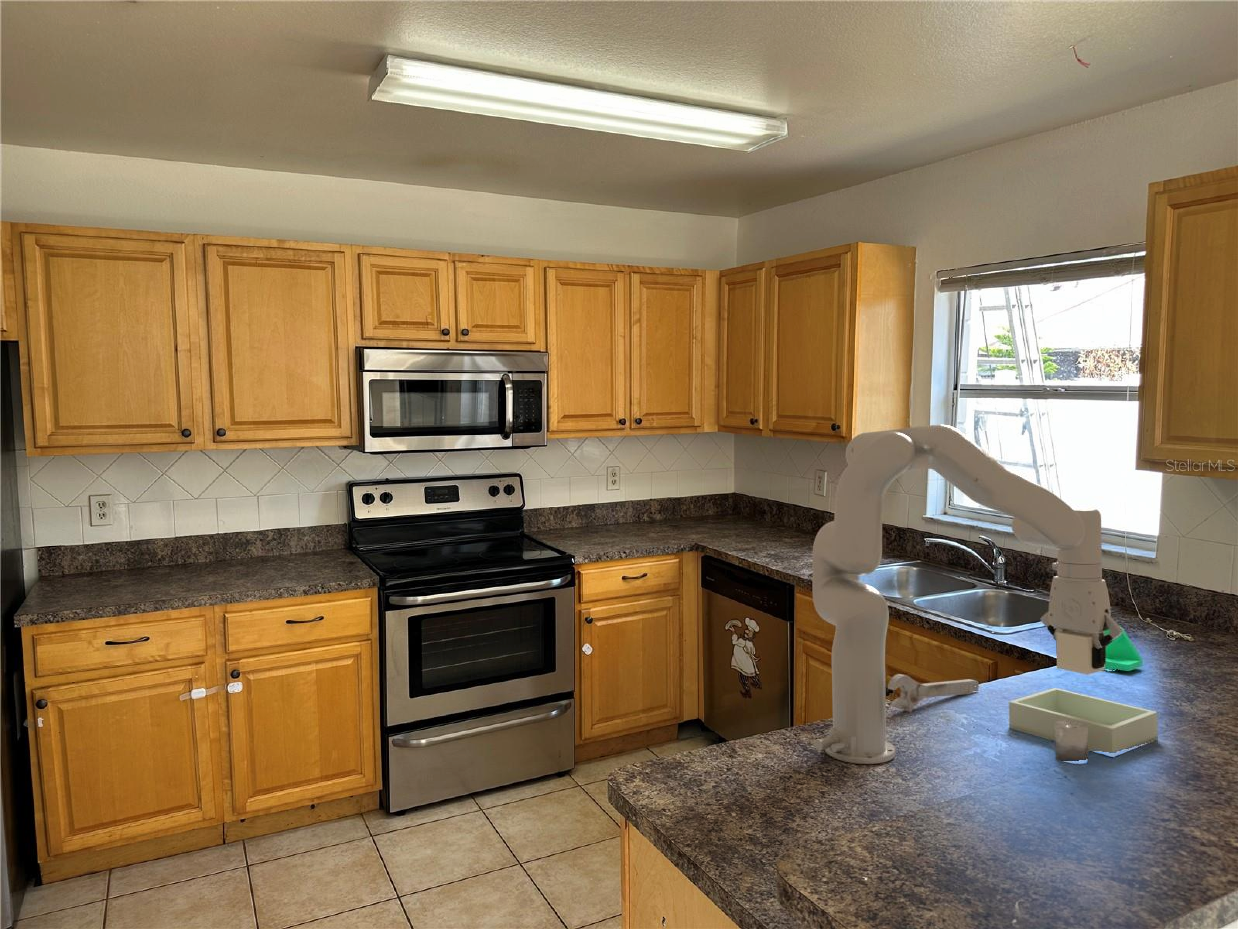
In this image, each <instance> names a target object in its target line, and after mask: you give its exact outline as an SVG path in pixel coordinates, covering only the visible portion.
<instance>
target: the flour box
mask: <svg viewBox="0 0 1238 929" xmlns="http://www.w3.org/2000/svg"><path fill="white" fill-rule="evenodd" d="M1056 633H1057V654H1056V669H1061V670H1065V671H1069V672H1075V673H1079V674H1082V675H1087V676H1088V675H1092V674H1096V673H1098V672H1102V671H1104V670H1105V664H1104V667H1101V668H1098V669H1094V668H1093V667H1092V648H1093V647H1095V645H1094V643H1093V640H1092V637H1091V635H1090V633H1083V632H1077V631H1071V630H1064V631H1060V632H1056Z"/></svg>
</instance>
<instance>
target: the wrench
mask: <svg viewBox="0 0 1238 929" xmlns="http://www.w3.org/2000/svg"><path fill="white" fill-rule="evenodd" d="M975 686H976V687H975ZM899 688H900V695H899V696H898V697H897V698H895V699H894V700H893V701H891V704H892V706H893V707H895V708H896V709H900V710H904V711H906V712H909V713H912V711H913V710H914V707H915V706H917V704H919V702H920V701H922V700H924V699H927V698H934V697H936V698H938V697H949V696H961V695H962V696H963V695H971V693H973V694H975V693H974V692H973V691H977V692H979V689H980V686H979V682H978V681H977V680H975V679H969V678H968V679H957V680H946V681H939V682H938V681H937V682H928V683H920V682H918V681H916V680H914V679H912V677H910V676H909V675H906V674H901V673H897V674H895V675H893V676H892V677H891V678H890V680H889V682H888V684H887V689H888V690H892V691H896V690H897V689H899Z"/></svg>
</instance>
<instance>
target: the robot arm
mask: <svg viewBox="0 0 1238 929" xmlns="http://www.w3.org/2000/svg"><path fill="white" fill-rule="evenodd" d="M845 460H846V463H847V466H846V467H845V469H844V470H843V472H842V474H841V476H840V478H839V481H838V483H837V487H836V492H835V501H834V517H833V518H834V519H833V520H832V521H829V522H827V523H825V524H824V525H823V526H822V527H821V528H820V529H819V530H818V532H817V534H816V536H815V538H814V541H813V546H812V580H811V581H812V601H813V605H814V608H815V611H816V613H817V614H818V616H819V617H820V618H821V619H823V620H824V621H826V622H827V623H829V624H830V625H832V626H835V632H834V635H833V636H834V637H833V641H832V647H831V682H832V684H831V687H832V688H831V690H832V693H831V694H832V696H831V697H832V698H831V699H832V728H830V729H829V730H828V733H829V734H828V735H827V736H826V737H823V738H820V739H816V740H815V742H814V746H815V749H816V750H817V751H819V752H821V751H824V750H825V753H826V754H827V755H828V756H830V757H832V758H833V759H836V760H839V761H842V762H846V763H851V764H860V765H873V764H874V765H876V764H882V763H886V762H889V761H891V760H893V759H894V758H895V756H896V748H895V746H894V745H893V744H892V743H891V742H889V741H887V708H886V707H887V703H886V700H887V699H886V698H887V696H886V695H887V694H886V692H887V691H886V641H887V640H886V638H887V632H888V628H889V627H888V625H889V619H890V616H889V615H890V614H889V612H890V610H889V606H888V603H887V601H886V599H885V597H884V596H883V594H882V593H881V592H880V591H879V590H878V589H877V588H875V587H873V586H872V585H870V584H867V583H865V582H862V581H860V576H866V575H870V574H872V573H873V572H875V571H876V570H877V569H879V566H880V564H881V562H882V557H883V506H884V501H885V500H884V499H885V496H886V493H887V491H888V489H889V488H890V486H891V485H892V483H893V482H894V481H895V480H896V479H897V478H898V477H899V476H901V475H902V474H904V473H905V472H906V471H907V472H908V471H913V470H917V469H918V470H919V469H920V470H921V469H927V470H932V471H935V472H936V473H938V475H940V476H941V477H942V478H943V479H944V480H946V481H948V483H950V485H952V486H954V487H955V488H956V489H958V490H959V491H960V492H961V493H963V494H964V495H965V496H966V497H968V498H969V499H970V500H972V501H973V502H975V503H977V504H979V505H981V506H982V507H985V508H988V509H991V510H994V511H997V512H1000V513H1003V514H1006V515H1009V516H1011V517H1013V518H1012V521H1011V530H1012V533H1013V535H1014V537H1015V538H1017V540H1019V541H1020V542H1021V543H1024V544H1027V545H1030V546H1034V547H1040V548H1047V549H1051V550H1052V549H1053V550H1056V552H1057V560H1056V562H1052V563H1051V569H1052V570H1055V571H1056V574H1057V575H1056V576H1054V575H1053V578H1052V582H1051V586H1050V592H1049V600H1048V611H1047V612H1045V613H1044V614H1043V615H1042V616H1041V617H1040V622H1042V624H1043V625H1044V626H1045V628H1047V631H1048V632H1049V633H1050V634H1051V636H1052V637H1053V640H1054V641H1055V643H1056V644H1055V646H1056V648H1055V651H1056V652H1055V654H1056V655H1057V633H1056V632H1060V631H1064V630H1071V631H1077V632H1083V633H1090V635H1091V637H1092V640H1093V643H1094V645H1095V647H1093V648H1092V667H1093V668H1094V669H1098V668H1101V667H1104V664H1105V663H1106V646H1108V645H1109V644H1110V643H1111V642H1112V641H1114V640H1115V638H1117V637H1118V636H1120V635H1121V634H1122V633H1123V630H1122V629H1121V628H1120V627H1121V625H1119V624H1118V623H1117V622H1116V620H1115V619H1113V617H1112V616H1111V615H1112V614H1111V611H1112V610H1111V604H1110V603H1111V601H1110V595H1109V591H1108V586H1107V583H1106V580H1105V579H1103V568H1102V567H1103V566H1102V565H1103V564H1102V561H1103V560H1102V558H1103V556H1102V548H1103V547H1102V542H1103V541H1102V515H1101V512H1100V511H1099V510H1098V509H1097V508H1093V507H1088V506H1087V507H1086V506H1084V507H1083V506H1070V505H1068V504H1067V503H1066V502H1065V501H1064V500H1063V499H1061V498H1060V497H1059V496H1057V495H1056V494H1054V493H1053V492H1052V491H1050V490H1048V489H1046V488H1045V487H1043V486H1041V485H1039V484H1038V483H1036V482H1034V481H1031V479H1028V478H1026V477H1024V476H1023V475H1021V474H1020V473H1018V472H1015V471H1013V470H1011V469H1009V468H1008V467H1006V466H1004V465H1003V464H1001V463H1000V462H999V461H998V460H997V459H995V458H994V457H993V456H992V455H990V454H989V453H988V452H987V451H985V450H984V449H982V447H981V446H979V445H978V444H977V443H975V442H974V441H973V440H972V439H970V438H969V437H968V436H966V435H965V434H964V433H963V432H961V431H960V430H959V429H958V428H955V427H953V426H950V425H947V424H933V425H930V424H929V425H917V426H912V427H906V428H897V429H890V430H881V431H879V430H878V431H868V432H863V433H860V434H858V435H856V436H854V437H853V438H852V439H850V441H849V443H848V444H847V447H846V449H845ZM1109 629H1110V633H1109V634H1107V635H1105V633H1104V631H1107V630H1109Z"/></svg>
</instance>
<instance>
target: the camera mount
mask: <svg viewBox="0 0 1238 929" xmlns="http://www.w3.org/2000/svg"><path fill="white" fill-rule="evenodd" d="M1120 628H1121V629H1122V630H1123V633H1122V634H1121V635H1120V636H1118V637H1117V638H1115V640H1114V641H1112V642H1111V643H1110V644H1109V645H1108V646H1106V663H1105V669H1109V670H1112V671H1113V670H1115V669H1118V670H1117V671H1119V670H1120V671H1125V672H1130V671H1133V670H1136V669H1138V668H1141V667H1143V658H1142V656H1141V655H1140V654H1139V652H1138V650H1137V648H1136V647H1135V646H1134V644H1133V642H1132V641H1131V639H1130V638H1129V636H1128V634H1127V633H1126V631H1125V629H1124V628H1123V627H1122V626H1120ZM1104 633H1105V635H1107V634H1109V633H1110V629H1109V630H1107V631H1104Z"/></svg>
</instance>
